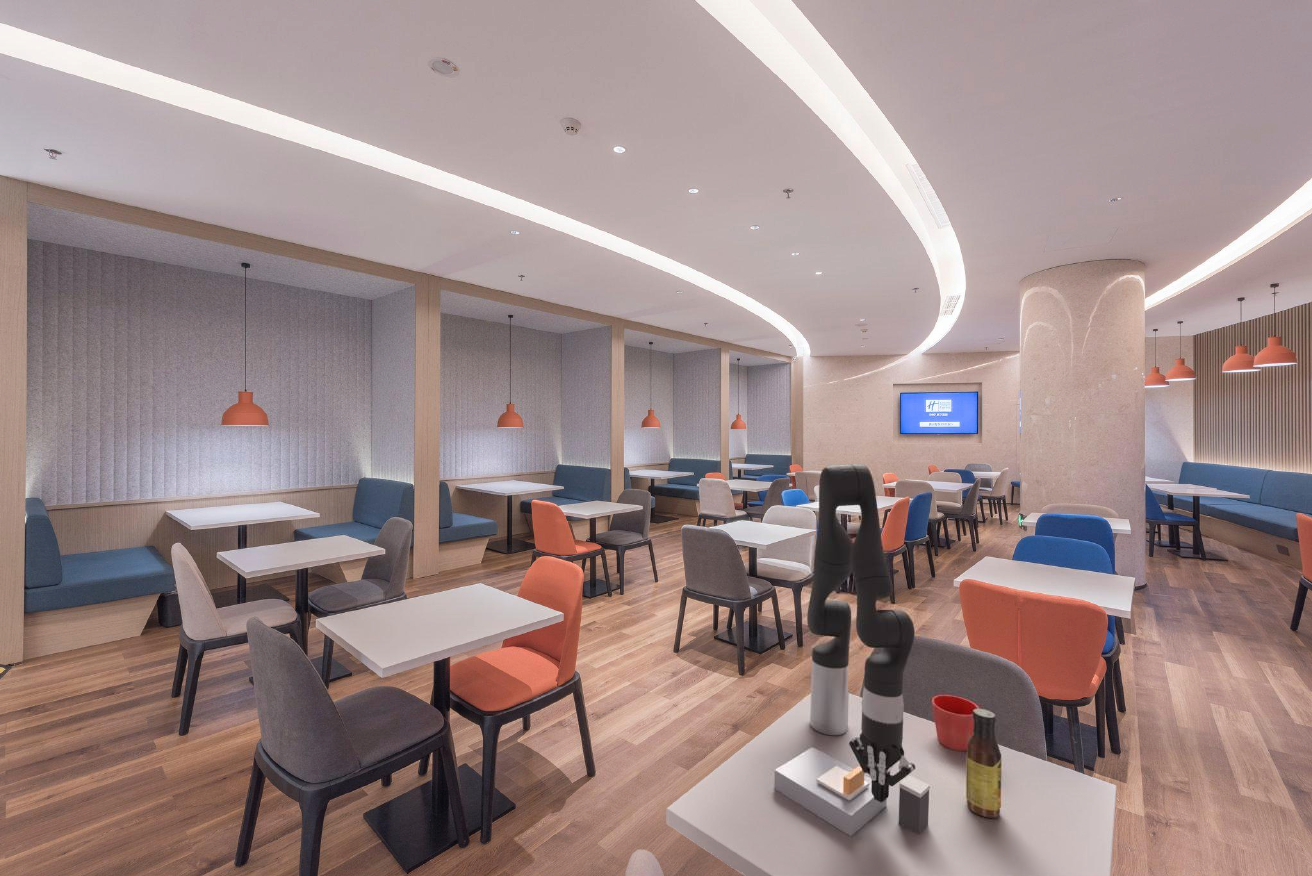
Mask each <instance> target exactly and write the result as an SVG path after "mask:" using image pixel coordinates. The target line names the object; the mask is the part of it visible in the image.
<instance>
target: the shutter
mask: <svg viewBox="0 0 1312 876" xmlns="http://www.w3.org/2000/svg"><path fill="white" fill-rule="evenodd" d="M853 769H854V770H852V771H851V772H850V773H849V772H847V771H846V770H844V769H842V768H840V767H838V766H835V767H834V768H832V769H831V770H829V771H828V772H826V773H825V774H823V775H822V776H820V777H819V778H817V782H818V783H819V784H821V785H823V786H825V787H826V788H828V789H830V790H832V791H833V792H835V793H837V794H839V795H840V796H842V797H844V798H845V799H847V800H849V801H850V800H851V799H853V798H854V797H855V796H856V795H858V794H859V793H860V792H862V791H863V790H864V789H866V788H867V787H868V786H869V783H868V782H866V781H864V775H865V773H864V772H863V770H862V768H861V766H860V765H858V766H857V767H855V768H853Z"/></svg>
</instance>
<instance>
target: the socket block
mask: <svg viewBox="0 0 1312 876" xmlns="http://www.w3.org/2000/svg"><path fill="white" fill-rule="evenodd" d="M835 766H838V767H840V768H842V769H844V770H846V771H847V772H849V773H850V772H851V771H852V770H854V769H855V768H852V767H850V766H849V765H847V764H845V763H842V762H841V761H839V760H837V759H836V758H833V757H832V756H830V755H828V754H826V753H824V752H822V751H820V750H818V749H816V748H814V747H810V748H808V749H807V750H805V751H804V752H802V753H800V754H799V755H797V756H796V757H793V758H792V759H791V760H788V761H786V762H785V763H783V764H782V765H781V766H779V767H777V768H776V769H774V779H773V780H774V784H773V786H774V787H773V789H775V791H778V793H780V794H782V795H784V796H786V797H787V798H789V799H791V800H792V801H793V802H795V803H797V804H798V805H800V806H802V807H803V808H805V809H807V810H808V811H809V812H811V813H813V814H814V815H816V816H817V817H819V818H821V819H822V820H824V821H825V822H827V823H829V824H830V825H832V826H833V827H835V828H837V829H838V830H840V831H842V832H843V833H845V834H846V835H848V836H849V837H853V835H854V834H855V833H857V831H859V830H861V828H862V827H863V826H865V825H866V824H867V823H868V822H869V821H871V820H872V819H873V818H874V817H876V816H877V815H878V814H879V813H880V812H881V811H882V810H883V809H885V808H886V807H887V804H888V803H887V802H888V801H887V800H888V798H887V799H886V800H885V801H883V802H882V803H881V802H879V801H877V800H875V799H874V795H872V792H871V789H872V779H871V777H870V776H867V775H866V774H864V781H866V782H868V783H869V786H868V787H867V788H866V789H864V790H863V791H862V792H860V793H859V794H858V795H856V796H855V797H854V798H853V799H851V800H850V801H849V800H847V799H845V798H844V797H842V796H840V795H839V794H837V793H835V792H833V791H832V790H830V789H828V788H826V787H825V786H823V785H821V784H819V783H818V782H817V778H819V777H820V776H822V775H823V774H825V773H826V772H828V771H829V770H831V769H832V768H834V767H835Z"/></svg>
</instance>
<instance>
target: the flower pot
mask: <svg viewBox="0 0 1312 876" xmlns="http://www.w3.org/2000/svg"><path fill="white" fill-rule="evenodd" d="M931 700H932V701H931V704H932V713H933V718H934V724H935V730H936V731H935V732H936V737H937V740H938V742H939V743H940V744H941V745H943V746H944V747H946V748H949V749H952V750H954V751H959V752H960V751H961V752H963V751H966V752H967V743H968V739H969V738H970V736H971V735H972V734H973V732H974V731H973V729H974V718H973V710H974V709H980V707H979V705H978V704H976V703H975V702H972V701H971V700H969V699H965V698H963V697H960V696H955V695H951V694H950V695H949V694H939V695H936V696H933V697H932V699H931Z"/></svg>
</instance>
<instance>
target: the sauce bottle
mask: <svg viewBox="0 0 1312 876" xmlns="http://www.w3.org/2000/svg"><path fill="white" fill-rule="evenodd" d="M973 718H974V729H973V731H974V732H973V734H972V735H971V736H970V738H969V739H968V743H967V751H966V767H965V768H966V771H965V772H966V774H965V775H966V776H965V778H966V779H965V781H966V782H965V787H966V789H965V799H966V804H967V807H968V808H969V809H970V811H971V812H973V813H974V814H976V815H978V816H980V817H983V818H989V819H995V818H998V817H999V816H1000V813H1001V807H1002V775H1003V774H1002V762H1003V761H1002V753H1001V750H1000V746H999V743H998V741H997V738H996V733H995V730H996V729H995V728H996V726H995V724H996V722H997V720H996V719H997V718H996V714H995V713H994V712H992V711H990V710H987V709H984V708H979V709H974V710H973Z"/></svg>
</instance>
